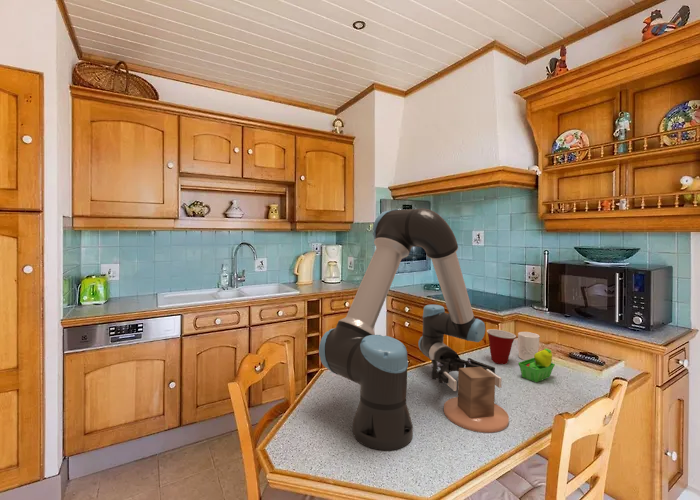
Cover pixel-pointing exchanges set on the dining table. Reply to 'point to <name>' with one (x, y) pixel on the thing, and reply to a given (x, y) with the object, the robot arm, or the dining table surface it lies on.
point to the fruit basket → (537, 366)
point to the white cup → (527, 345)
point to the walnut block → (476, 392)
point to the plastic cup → (500, 345)
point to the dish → (476, 424)
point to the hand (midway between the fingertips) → (478, 384)
